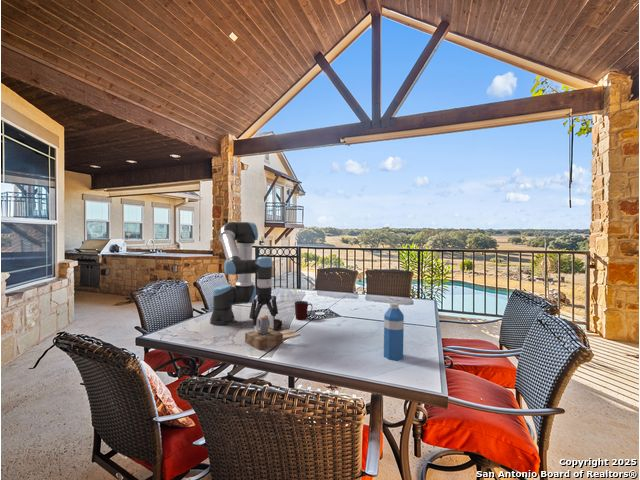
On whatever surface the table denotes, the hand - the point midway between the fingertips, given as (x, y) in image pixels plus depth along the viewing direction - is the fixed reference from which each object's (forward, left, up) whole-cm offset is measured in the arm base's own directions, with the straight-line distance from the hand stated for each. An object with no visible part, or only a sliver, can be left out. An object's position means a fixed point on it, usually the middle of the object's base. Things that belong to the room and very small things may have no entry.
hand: (264, 329), depth 156 cm
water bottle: (+55, +36, -7) cm, 66 cm away
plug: (0, 0, -7) cm, 7 cm away
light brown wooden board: (-3, +16, -7) cm, 18 cm away
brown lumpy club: (-13, +14, -7) cm, 20 cm away
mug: (-21, +45, -7) cm, 50 cm away
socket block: (0, 0, -7) cm, 7 cm away
